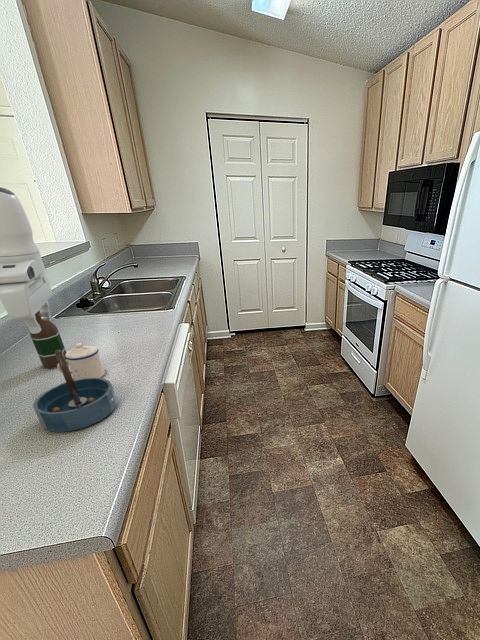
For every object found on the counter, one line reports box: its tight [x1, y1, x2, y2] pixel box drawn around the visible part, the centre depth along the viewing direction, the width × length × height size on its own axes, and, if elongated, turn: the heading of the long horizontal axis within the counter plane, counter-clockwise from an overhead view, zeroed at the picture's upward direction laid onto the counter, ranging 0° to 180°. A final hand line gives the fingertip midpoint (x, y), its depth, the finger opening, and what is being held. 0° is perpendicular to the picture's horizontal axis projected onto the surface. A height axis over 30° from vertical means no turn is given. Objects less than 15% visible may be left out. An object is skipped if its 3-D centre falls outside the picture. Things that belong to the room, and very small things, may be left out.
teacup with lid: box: [56, 342, 106, 380], centre depth 105 cm, size 12×9×12 cm
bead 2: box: [88, 397, 95, 404], centre depth 92 cm, size 2×2×2 cm
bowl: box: [33, 377, 118, 433], centre depth 89 cm, size 18×18×6 cm
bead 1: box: [51, 407, 61, 412], centre depth 88 cm, size 2×2×2 cm
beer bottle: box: [29, 311, 67, 369], centre depth 112 cm, size 8×8×24 cm
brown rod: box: [55, 350, 89, 410], centre depth 86 cm, size 4×4×18 cm
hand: (42, 325), depth 80 cm, fingers open, 8 cm apart
